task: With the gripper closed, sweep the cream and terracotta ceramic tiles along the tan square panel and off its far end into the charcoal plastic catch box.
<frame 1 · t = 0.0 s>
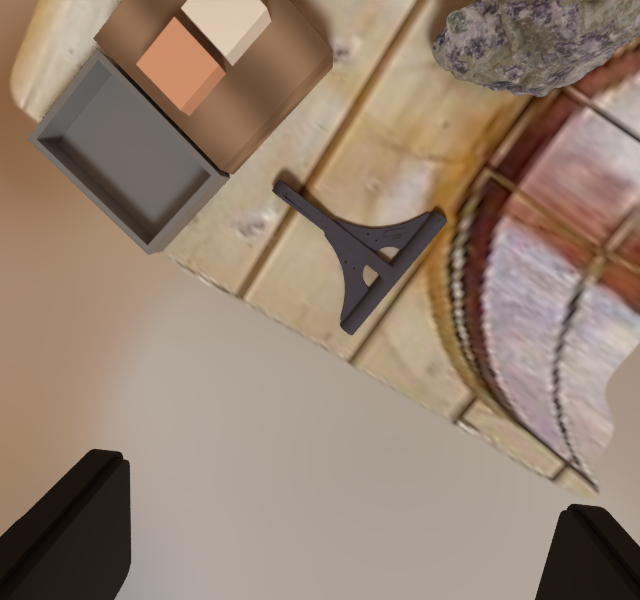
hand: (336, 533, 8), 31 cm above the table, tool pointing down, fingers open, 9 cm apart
cream tile: (231, 21, 30), point 4 cm above the table, touching tan square panel
catch box: (140, 161, 37), on the table
tan square panel: (225, 62, 35), on the table
terracotta tile: (187, 73, 31), point 4 cm above the table, touching tan square panel
mineral rock: (516, 46, 34), on the table
bracket: (339, 232, 39), on the table
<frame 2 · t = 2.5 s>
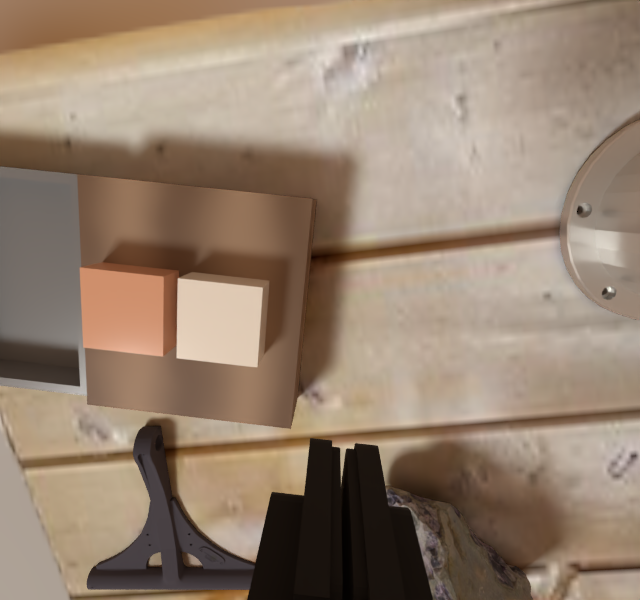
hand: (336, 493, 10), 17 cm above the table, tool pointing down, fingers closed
cream tile: (228, 313, 23), point 4 cm above the table, touching tan square panel
catch box: (42, 275, 27), on the table
tan square panel: (212, 294, 27), on the table
terracotta tile: (140, 304, 23), point 4 cm above the table, touching tan square panel
mineral rock: (447, 528, 31), on the table
bracket: (172, 500, 32), on the table
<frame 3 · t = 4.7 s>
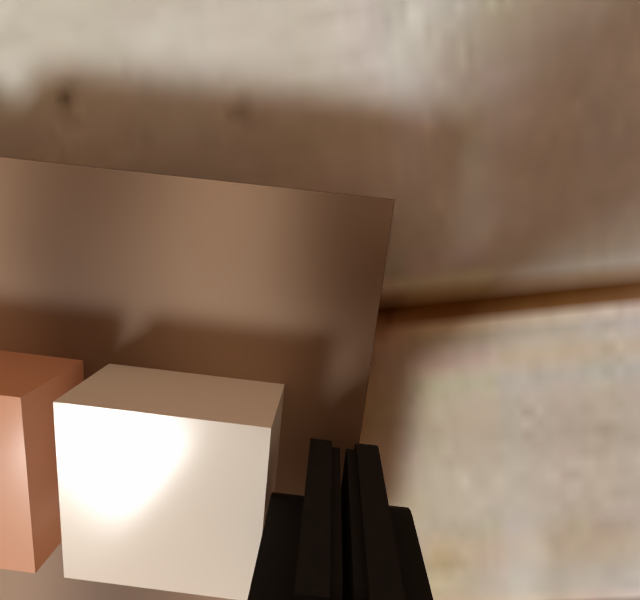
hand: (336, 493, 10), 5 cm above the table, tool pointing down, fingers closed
cream tile: (193, 451, 10), point 4 cm above the table, touching gripper, tan square panel
tan square panel: (175, 377, 14), on the table
terracotta tile: (4, 428, 10), point 4 cm above the table, touching tan square panel
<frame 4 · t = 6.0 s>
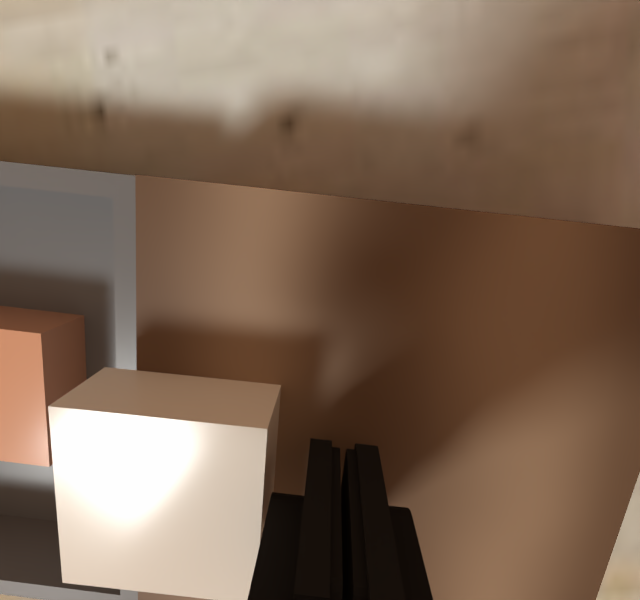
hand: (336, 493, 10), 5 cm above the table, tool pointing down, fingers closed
cream tile: (191, 454, 10), point 4 cm above the table, touching gripper
catch box: (44, 365, 14), on the table
tan square panel: (367, 402, 14), on the table
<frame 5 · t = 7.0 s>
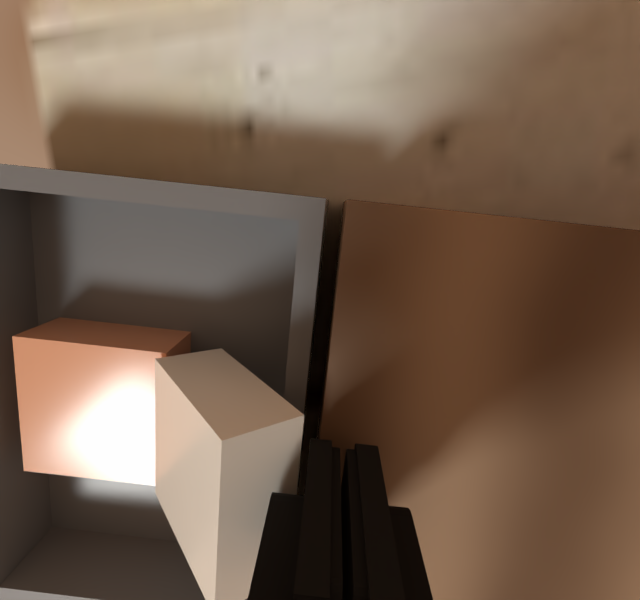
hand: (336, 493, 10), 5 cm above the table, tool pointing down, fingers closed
cream tile: (251, 448, 11), point 3 cm above the table, tilted 50°, touching gripper, terracotta tile
catch box: (170, 383, 14), on the table
tan square panel: (500, 420, 14), on the table
terracotta tile: (91, 414, 12), point 3 cm above the table, tilted 180°, touching catch box, cream tile
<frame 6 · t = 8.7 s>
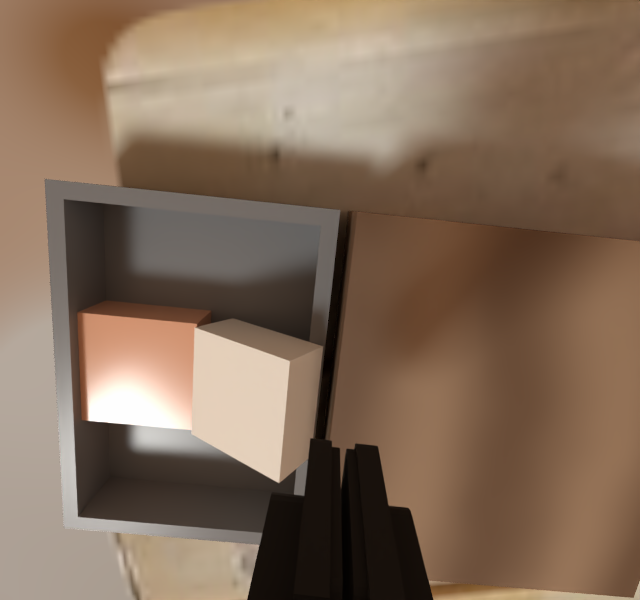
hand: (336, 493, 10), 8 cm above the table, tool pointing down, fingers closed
cream tile: (270, 384, 16), point 2 cm above the table, tilted 33°, touching catch box, terracotta tile
catch box: (210, 355, 18), on the table
tan square panel: (470, 380, 18), on the table
terracotta tile: (137, 373, 15), point 2 cm above the table, tilted 180°, touching catch box, cream tile
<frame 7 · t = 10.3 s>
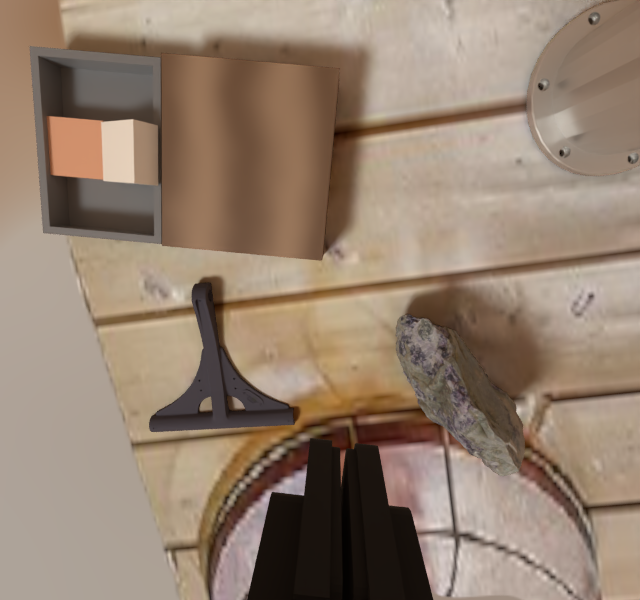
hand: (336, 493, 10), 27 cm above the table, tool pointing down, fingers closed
cream tile: (141, 156, 32), point 2 cm above the table, tilted 33°, touching catch box, terracotta tile
catch box: (119, 155, 34), on the table
tan square panel: (255, 167, 34), on the table
terracotta tile: (76, 148, 31), point 2 cm above the table, tilted 180°, touching catch box, cream tile
mineral rock: (450, 366, 37), on the table
bracket: (218, 354, 39), on the table
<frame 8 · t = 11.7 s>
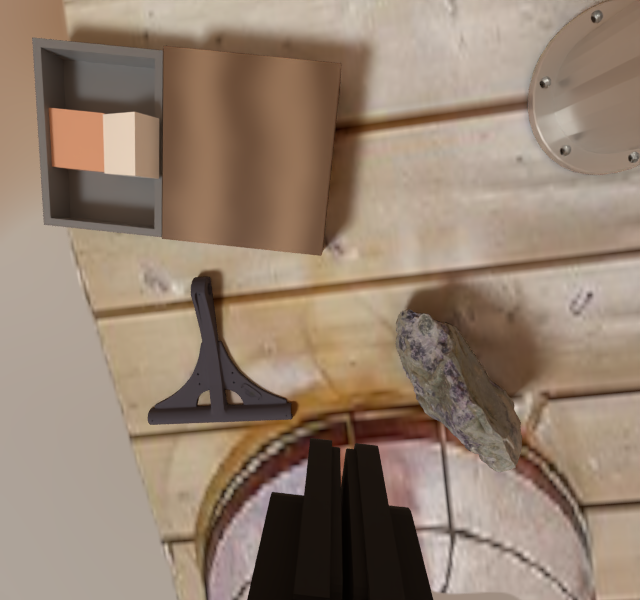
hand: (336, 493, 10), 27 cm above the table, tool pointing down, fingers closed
cream tile: (142, 149, 32), point 2 cm above the table, tilted 33°, touching catch box, terracotta tile
catch box: (120, 148, 34), on the table
tan square panel: (256, 162, 34), on the table
terracotta tile: (77, 140, 31), point 2 cm above the table, tilted 180°, touching catch box, cream tile
mineral rock: (449, 363, 38), on the table
bracket: (217, 348, 39), on the table
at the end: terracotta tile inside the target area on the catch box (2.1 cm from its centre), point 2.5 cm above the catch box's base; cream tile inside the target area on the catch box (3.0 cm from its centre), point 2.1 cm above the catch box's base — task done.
